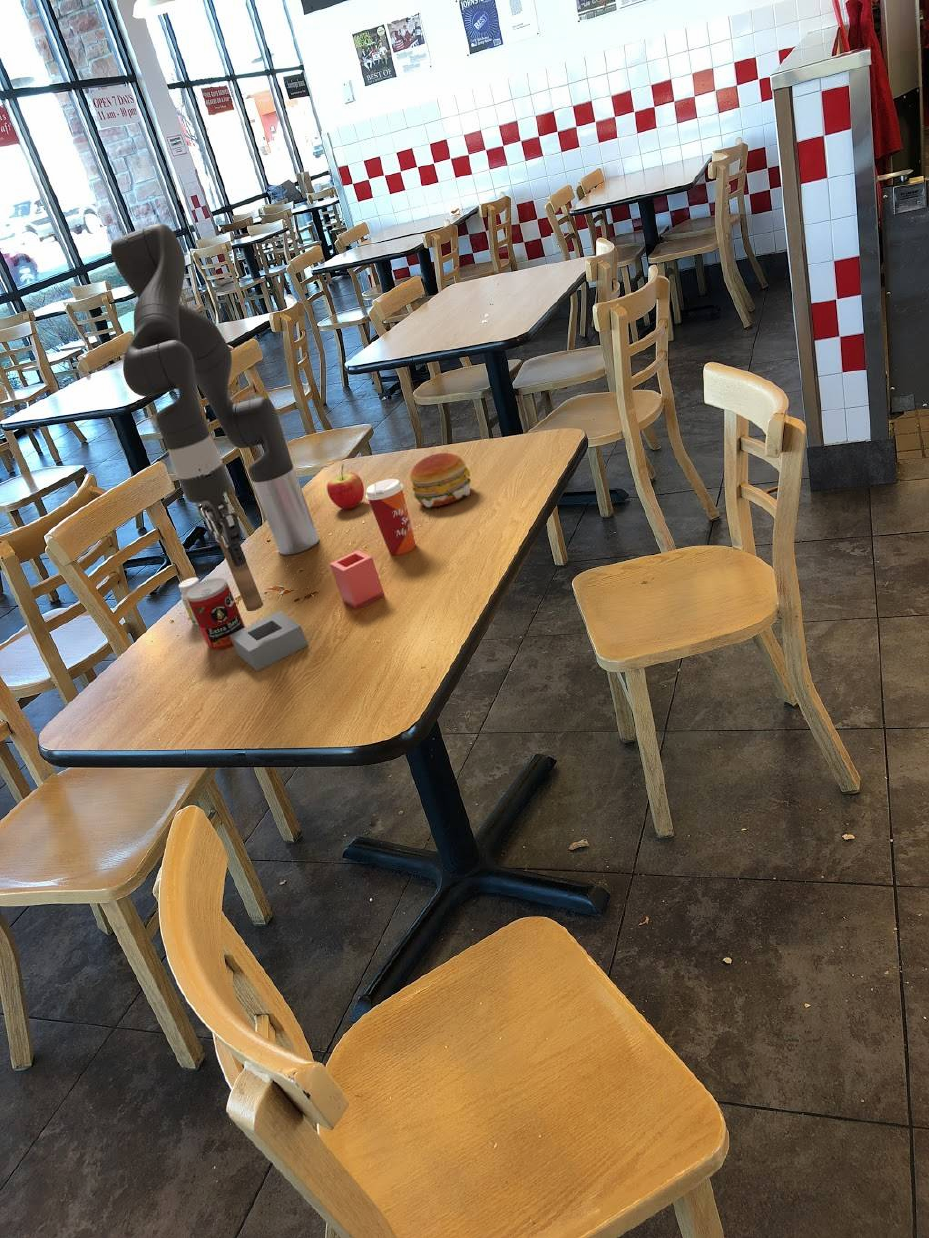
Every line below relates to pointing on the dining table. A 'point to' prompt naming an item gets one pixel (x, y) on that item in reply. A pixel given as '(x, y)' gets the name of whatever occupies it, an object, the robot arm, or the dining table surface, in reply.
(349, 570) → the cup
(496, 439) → the dining table surface
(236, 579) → the dowel
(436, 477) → the burger
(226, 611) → the canned food
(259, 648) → the holder
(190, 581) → the supplement bottle
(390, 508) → the paper cup
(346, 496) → the apple
